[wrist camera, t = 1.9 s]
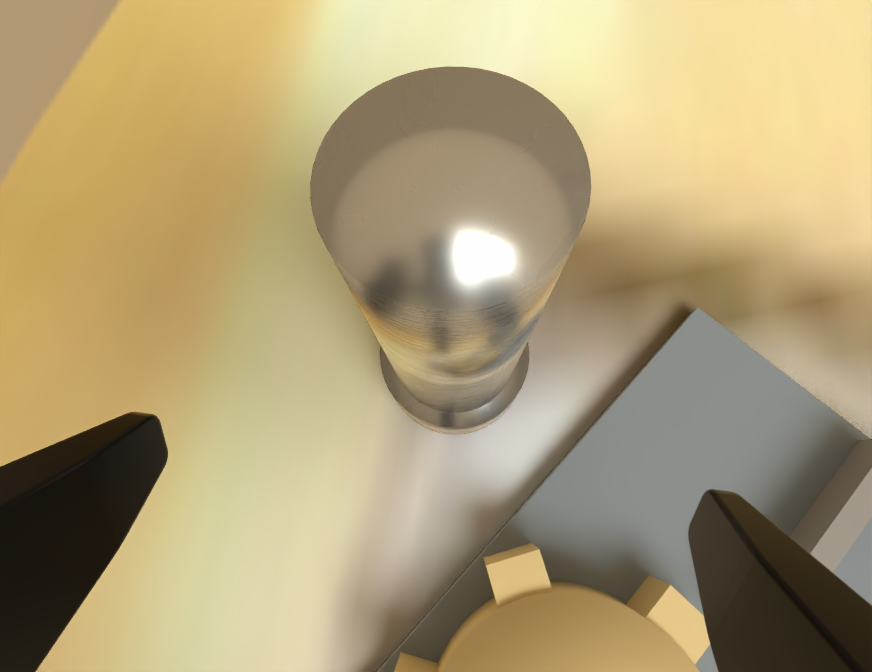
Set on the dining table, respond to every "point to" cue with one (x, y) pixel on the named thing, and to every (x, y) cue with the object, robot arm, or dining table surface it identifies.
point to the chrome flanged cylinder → (451, 231)
